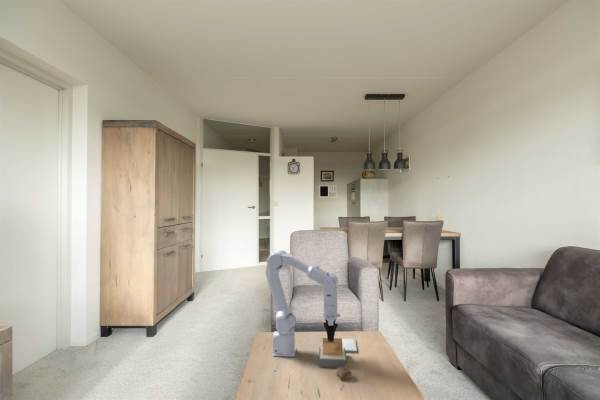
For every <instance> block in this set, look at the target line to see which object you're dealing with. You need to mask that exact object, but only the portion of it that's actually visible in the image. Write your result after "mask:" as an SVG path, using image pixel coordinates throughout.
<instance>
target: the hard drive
mask: <svg viewBox="0 0 600 400" xmlns="http://www.w3.org/2000/svg"><path fill="white" fill-rule="evenodd" d="M342 347H344V348H345V351H346V354H358V348H357V341H356V339H355V338H342Z"/></svg>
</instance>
